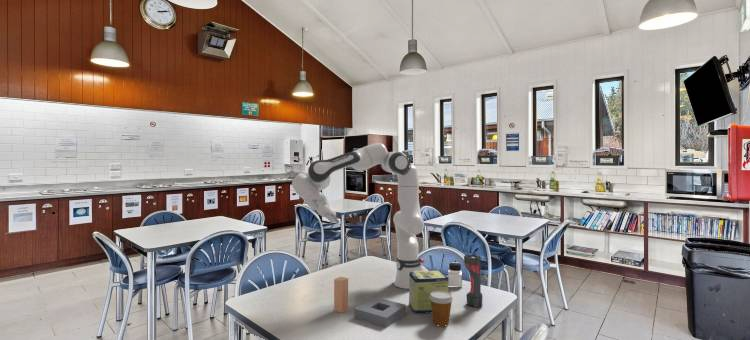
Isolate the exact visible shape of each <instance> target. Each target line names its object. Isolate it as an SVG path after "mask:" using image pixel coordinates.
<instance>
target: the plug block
mask: <svg viewBox="0 0 750 340" xmlns="http://www.w3.org/2000/svg"><path fill="white" fill-rule="evenodd" d="M333 283H334V284H333V291H334V292H333V297H334V299H333V311H334V312H339V313H341V314H342V313H344V312H346V311H348V310H349V278H347V277H344V276H338V277H337V278H334V280H333Z"/></svg>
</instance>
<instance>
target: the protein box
mask: <svg viewBox="0 0 750 340" xmlns="http://www.w3.org/2000/svg"><path fill="white" fill-rule="evenodd" d="M448 279H449V278H448V275H446V274H445V273H444V272H443V271H442V270H429V271H420V272H410V274H409V289H408V290H409V291H408V306H409V305H410V306H409V307H410V309H411V311H412V312H413V314H414V313H421V314H427V313H426V312H432V309H431V300H430V298H429V296H430V294H431V292H434V291H445V292H449V287H448Z"/></svg>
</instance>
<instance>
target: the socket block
mask: <svg viewBox="0 0 750 340" xmlns="http://www.w3.org/2000/svg"><path fill="white" fill-rule="evenodd" d="M353 313H354V314H353V315H354V319H357V320H360V321H364V322H365V323H371V324H373V325H377V326H380V327H383V328H385V329H386V328H389V327H390V326H392V325H393V324H394V323H395V322H397V321H398V320H400V319H401V318H402V317H404V316H405V315H406V314H407V304H404V303H401V302H397V301H393V300H389V299H386V298H382V297H381V298H380V297H377V296H375V297H373V298H371V299H369V300H367V301H366V302H363V303H362V304H360V305H358V306H356V307H355V308H354V311H353ZM403 315H404V316H403ZM399 318H400V319H399Z"/></svg>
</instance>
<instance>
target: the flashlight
mask: <svg viewBox="0 0 750 340" xmlns="http://www.w3.org/2000/svg"><path fill="white" fill-rule="evenodd" d="M481 257H482V256H481V255H480V254H478V255H477V254H476V253H472V254H469V253H466V254H465V255H464V256H463V263H464V266H465V268H466V269H467V271H468V272H469V276H470V277H469V278H470V291H469V292H468V293H466V304H467V303H468V304H469V305H471V306H472V305H473V306H476V307H478V306H482V307H483V293H482V292H481V288H482V287H481V283H482V282H481V269H482V268H481V264H482V258H481ZM468 304H467V305H468ZM469 305H468V306H469ZM473 306H472V307H473Z"/></svg>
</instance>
